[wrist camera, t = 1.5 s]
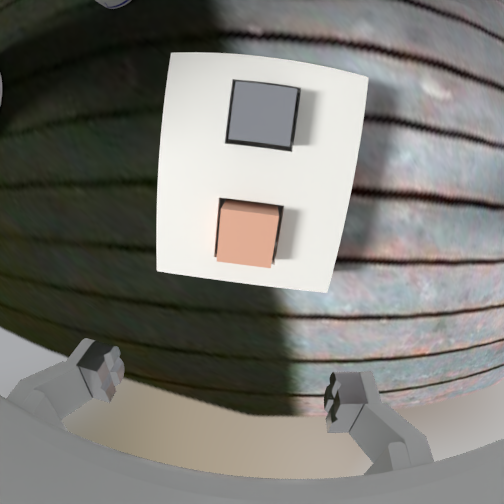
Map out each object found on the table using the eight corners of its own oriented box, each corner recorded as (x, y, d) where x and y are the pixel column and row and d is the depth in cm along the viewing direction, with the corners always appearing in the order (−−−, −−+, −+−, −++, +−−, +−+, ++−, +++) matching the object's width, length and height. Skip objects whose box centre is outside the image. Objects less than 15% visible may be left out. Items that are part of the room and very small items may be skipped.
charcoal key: (233, 138, 26) (228, 139, 23) (239, 88, 25) (235, 81, 21) (285, 144, 27) (289, 146, 23) (292, 94, 25) (297, 88, 21)
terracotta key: (222, 245, 31) (216, 261, 27) (226, 198, 29) (221, 208, 25) (270, 251, 31) (270, 268, 27) (277, 204, 29) (279, 216, 25)
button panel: (170, 252, 35) (157, 271, 30) (184, 63, 26) (171, 52, 21) (319, 271, 35) (327, 292, 30) (353, 84, 26) (368, 77, 22)
